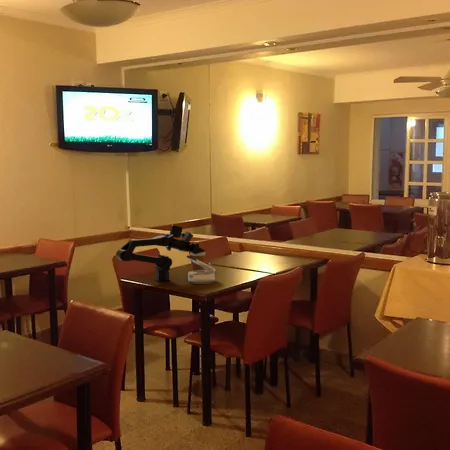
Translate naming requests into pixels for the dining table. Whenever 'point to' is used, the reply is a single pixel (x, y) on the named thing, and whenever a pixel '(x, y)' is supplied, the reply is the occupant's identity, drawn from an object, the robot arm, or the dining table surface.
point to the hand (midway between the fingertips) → (200, 250)
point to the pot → (201, 277)
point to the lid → (201, 263)
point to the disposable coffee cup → (201, 258)
